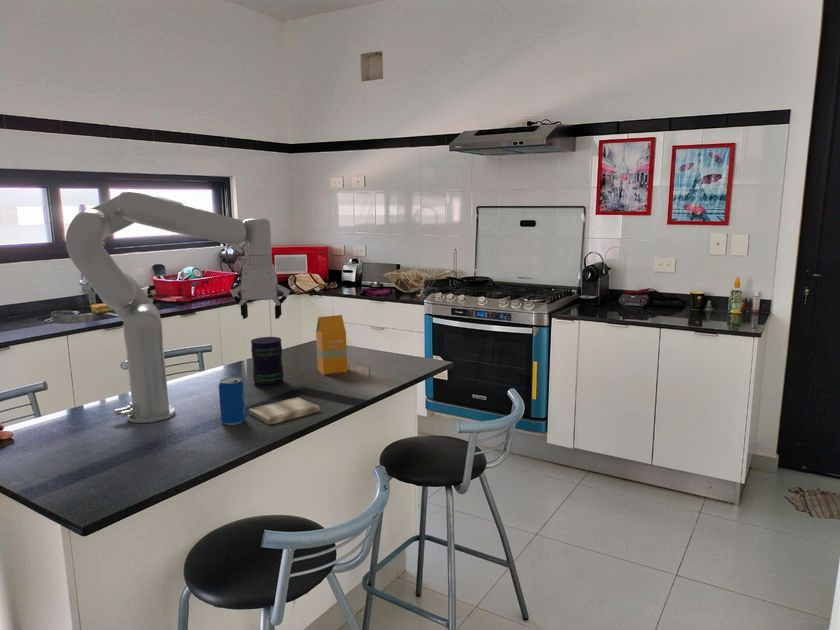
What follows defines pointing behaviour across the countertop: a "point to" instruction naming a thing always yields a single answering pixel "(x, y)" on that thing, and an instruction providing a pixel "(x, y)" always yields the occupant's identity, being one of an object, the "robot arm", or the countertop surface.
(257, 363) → the storage jar
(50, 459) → the countertop surface
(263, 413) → the bamboo board
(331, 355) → the orange juice
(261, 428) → the countertop surface
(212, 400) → the countertop surface
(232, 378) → the beverage can
